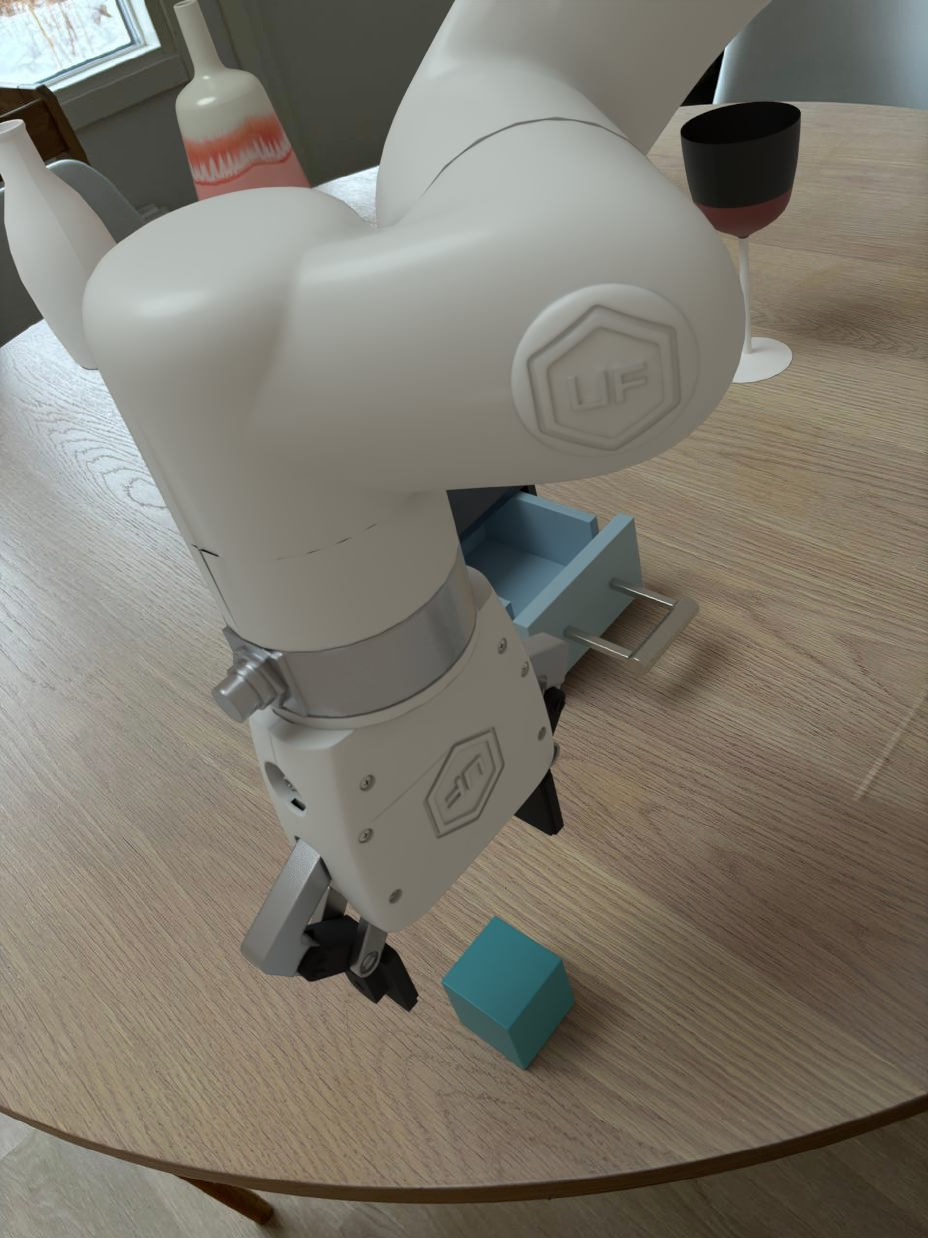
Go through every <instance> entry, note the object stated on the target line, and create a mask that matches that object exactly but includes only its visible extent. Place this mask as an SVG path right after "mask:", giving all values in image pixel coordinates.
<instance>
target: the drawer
mask: <svg viewBox="0 0 928 1238" xmlns="http://www.w3.org/2000/svg"><path fill="white" fill-rule="evenodd" d="M638 544H639V543H638V535H637V529H636V522H635V517H634V516H631V515H628V514H626V513H622V512H618V513H617V514H616V515H615V516H614V517H613V518H612V519H611V520H610V521H609V523H607V524H606V525H605V526H604V527H603V528H602V529H601V530H600V529H599V523H598V517H597V515H596V514H593V513H591V512H586V511H583V510H580V509H577V508H574V507H571V506H569V505H564V504H561V503H558V502H555V501H553V500H549V499H546V498H543V497H540V496H538V495H537V496H534V495H531V494H528V493H525V492H522V491H518V492H517V493H516V494H515V495H514V496H513V497H512V498H511V499H510V500H508V501H507V502H506V503H505V504H504V505H503V506H502V507H501V508H500V509H499V510H498V511H497V512H496V513H494V514H493V515H492V516H491V517H490V518H489V519H488V520H487V521H486V522H485V523H484V524H483V525H482V526H480V527H479V528H478V529H477V530H476V531H475V532H474V533H473V534H472V535H471V536H470V537H469V538H468V539H466V540H465V541H464V542H463V543H462V544H461V549H462V553H463V556H464V560H465V564H466V565H467V566H470V567H472V568H475V569H476V570H478V571H480V572H481V573H482V574H483V575H484V576H485V577H486V578H487V580H488V581H489V583H490V584H491V586H492V587H493V589H494V591H495V592H496V594H497V595H498V597H499V599H500V600H501V602H502V604H503V606H504V607H505V609H506V611H507V613H508V614H509V616H510V618H511V620H512V622H513V623H514V625H515V627H516V629H517V631H518V634H519V636H520V638H521V640H522V639H525V638H528V637H530V636H533V635H536V634H538V633H541V632H544V633H547V634H549V635H551V636H554V637H556V638H558V639H561V640H563V641H565V642H567V643H569V655H568V661H567V667H566V673H565V675H567V673H568V672H569V671H570V670H571V669H572V668H573V667H574V666H575V665H576V664H577V662H578V661H580V659H581V658H582V657H583V656H584V655H585V654H586V652H587V651H589V649H592V650H594V651H597V652H598V653H601V654H604V655H606V656H608V657H610V658H613V659H616V660H618V661H620V662H623V663H626V665H627V667H628V669H630V670H631V672H632V673H634V674H635V675H638V676H643V677H644V676H646V675H647V674H648V673H649V672H650V670H652V668H653V667H654V666H655V664H657V662H658V661H659V660H660V659H661V658H662V656H663V655H664V654H665V653H666V652H667V651H668V649H669V648H670V647H671V646H672V645H673V644H674V642H675V641H676V640H677V639H678V638H679V637H680V635H681V634H682V633H683V632H684V630H685V629H686V628H687V627H688V626H689V624H690V623H692V621H693V620H694V619H695V618H696V616H697V615H698V614H699V613H700V606H699V604H698V602H697V601H695V599H693V598H691V597H689V596H683V597H681V598H680V599H678V600H677V599H675V598H672V597H670V596H667V595H665V594H661V593H658V592H656V591H653V590H650V589H648V588H645V587H644V582H643V573H642V568H641V559H640V552H639V545H638ZM635 599H636V600H640V601H642V602H644V603H648V604H651V605H653V606H656V607H658V608H660V609H664V610H666V611H668V612H667V613H666V615H665V616H664V617H662V619H661V620H660V622H659V623H658V624H657V625H656V626H655V627H654V628H653V630H651V632H650V633H649V634H648V635H647V636H646V637H645V639H643V641H642V642H641V643H640V644H639V646H637V648H636V649H635V650H634V651H633V650H632V649H629V648H626V647H623V646H621V645H619V644H616V643H615V642H614V643H613V642H611V641H609V640H607V639H604V638H601V636H602V635H603V634H604V633H605V632H606V631H607V629H608V628H609V627H610V626H611V625H612V624H613V623H614V621H615V620H617V618H618V617H619V616H620V615H621V614H622V613H623V612H624V611H625V609H627V608H628V606H629V605H630V604H631V603H632V602H633V601H634V600H635Z"/></svg>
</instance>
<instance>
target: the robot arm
mask: <svg viewBox="0 0 928 1238" xmlns="http://www.w3.org/2000/svg"><path fill="white" fill-rule="evenodd" d="M772 1H773V0H454V1H453V2H452V5H451V7H450V8H449V10H448V13H447V14H446V16H445V18H444V20H443V21H442V23H441V25H440V27H439V29H438V31H437V32H436V35H435V36H434V38H433V40H432V42H431V43H430V46H429V47H428V48H427V49H428V50H427V51H426V53H425V55H424V57H423V59H422V61H421V62H420V65H419V66H418V68H417V70H416V72H415V74H414V76H413V78H412V80H411V82H410V83H409V86H408V87H407V89H406V92H405V93H404V95H403V97H402V99H401V101H400V103H399V105H398V108H397V110H396V112H395V115H394V117H393V120H392V123H391V125H390V128H389V130H388V133H387V136H386V138H385V142H384V145H383V149H382V153H381V158H380V162H379V166H378V171H377V175H376V182H375V183H376V184H375V197H374V204H375V207H374V208H375V219H376V226H374V225H372V224H370V223H368V222H367V221H366V220H365V219H364V218H363V217H362V215H360V214H359V213H358V212H357V211H356V210H355V209H354V208H353V207H351V206H350V205H349V204H348V203H347V202H346V201H344V200H342V199H340V198H338V197H336V196H334V195H333V194H332V195H331V194H329V193H327V192H324V191H321V190H318V189H314V188H312V189H310V188H304V187H265V188H256V189H248V190H242V191H236V192H231V193H227V194H223V195H219V196H215V197H212V198H208V199H205V200H202V201H198V200H197V201H196V202H193V203H190V204H188V205H187V204H186V205H185V206H182V207H180V208H177V209H175V210H173V211H169V212H167V213H166V214H164V215H161V216H160V217H158V218H155V219H153V220H151V221H149V222H148V223H146V224H145V225H143V226H141V227H140V228H138V229H137V230H135V231H133V233H131V234H130V235H128V236H126V237H125V238H124V239H122V240H121V241H119V242H118V243H116V244H117V245H116V246H115V247H113V248H112V249H111V250H110V251H109V252H108V253H107V254H106V255H105V256H104V257H103V258H102V259H101V260H100V262H99V263H98V265H97V266H96V268H95V270H94V271H93V273H92V275H91V276H90V278H89V280H88V281H87V284H86V288H85V292H84V296H83V302H82V322H83V327H84V333H85V338H86V342H87V345H88V347H89V349H90V352H91V354H92V356H93V359H94V361H95V363H96V365H97V368H98V369H97V370H98V372H99V374H100V376H101V377H100V378H102V381H103V383H104V384H105V387H106V389H107V390H108V393H109V394H110V396H111V399H112V401H113V403H114V404H115V406H116V408H117V411H118V412H119V414H120V416H121V418H122V420H123V423H124V425H125V427H126V429H127V430H128V432H129V435H130V436H131V438H132V440H133V442H134V444H135V446H136V448H137V450H138V452H139V454H140V456H141V458H142V460H143V462H144V464H145V466H146V468H147V470H148V472H149V474H150V476H151V478H152V480H153V482H154V484H155V486H156V488H157V490H158V492H159V494H160V496H161V498H162V500H163V502H164V504H165V506H166V508H167V510H168V512H169V513H170V516H171V517H172V520H173V521H174V523H175V525H176V528H177V530H178V531H179V533H180V536H181V537H182V540H183V541H184V543H185V546H186V547H187V549H188V551H189V553H190V555H191V556H192V558H193V560H194V563H195V565H196V566H197V569H198V571H199V572H200V574H201V576H202V578H203V580H204V582H205V584H206V586H207V587H208V590H209V592H210V593H211V595H212V597H213V599H214V601H215V603H216V605H217V608H218V609H219V611H220V613H221V616H222V618H223V620H224V623H225V625H226V626H225V627H223V628H222V629H221V632H222V633H223V636H224V638H225V640H226V641H227V644H228V645H229V647H230V649H231V651H232V665H231V666H230V667H229V668H228V669H227V670H226V671H227V672H226V675H227V676H226V677H225V678H223V679H222V680H221V681H220V682H219V683H217V684H216V685H215V686H214V687H213V688H212V689H210V693H211V696H212V698H213V700H214V701H215V703H216V704H217V705H218V707H219V708H220V709H221V710H222V711H223V712H224V713H225V714H226V715H227V716H228V717H229V718H230V719H231V720H233V721H234V722H235V723H238V724H243V723H244V722H246V721H247V720H248V724H249V730H250V733H251V737H252V742H253V747H254V751H255V754H256V758H257V761H258V765H259V769H260V772H261V775H262V778H263V781H264V784H265V786H266V789H267V792H268V795H269V797H270V801H271V803H272V805H273V806H272V807H273V808H274V811H275V813H276V815H277V818H278V821H279V823H280V824H281V828H282V829H283V831H284V834H285V836H286V838H287V840H288V843H289V844H290V847H291V848H292V850H291V852H290V854H289V855H288V857H287V859H286V861H285V863H284V865H283V866H282V868H281V870H280V872H279V874H278V875H277V877H276V879H275V881H274V883H273V884H272V886H271V889H270V890H269V892H268V894H267V896H266V897H265V899H264V901H263V903H262V905H261V907H260V908H259V910H258V912H257V914H256V916H255V917H254V919H253V922H252V923H251V925H250V927H249V929H248V931H247V932H246V935H244V938H243V940H242V942H241V944H240V950H239V951H240V953H241V955H242V956H243V957H244V958H245V959H247V961H249V962H250V963H251V964H253V965H254V966H255V967H256V968H257V969H258V970H259V971H260V972H262V973H263V974H265V975H270V976H278V977H286V978H294V977H302V978H303V979H304V980H306V981H307V982H309V983H315V982H317V981H321V980H324V979H327V978H330V977H333V976H337V975H341V974H345V976H346V978H347V980H348V981H349V982H350V983H351V984H352V986H353V987H354V988H355V989H356V990H357V991H358V992H359V993H360V994H361V995H363V996H364V997H365V998H366V999H367V1000H369V1001H370V1002H372V1003H373V1004H375V1005H378V1004H379V1002H381V1000H382V999H383V998H384V997H385V996H386V997H388V998H389V999H390V1000H392V1001H393V1002H394V1003H395V1004H397V1005H398V1006H400V1007H401V1008H402V1009H403V1010H405V1011H406V1012H407V1013H410V1012H411V1011H412V1010H413V1009H414V1008H415V1006H417V1004H418V1003H419V1000H418V997H419V996H420V994H419V991H418V990H417V988H416V985H415V984H414V982H413V980H412V978H411V976H410V974H409V971H408V970H407V968H406V965H405V964H404V962H403V960H402V958H401V955H400V954H399V952H398V951H397V950H396V949H395V948H394V947H393V946H391V945H390V944H388V943H387V942H386V941H387V937H388V934H393V933H397V932H400V931H402V930H405V929H406V928H408V927H410V926H412V925H413V924H415V923H416V922H418V921H419V920H420V919H421V918H423V917H424V916H425V915H426V914H427V913H428V912H429V911H430V910H431V909H432V908H433V907H434V906H435V905H436V904H437V903H438V902H439V901H440V900H441V899H442V897H443V896H444V895H446V893H447V892H448V891H449V890H450V889H451V888H452V886H453V885H454V884H455V883H456V882H457V881H458V880H459V878H460V877H462V875H463V874H464V873H465V872H466V870H467V869H468V868H470V866H471V865H472V864H473V863H474V862H475V860H476V859H477V858H478V857H479V856H480V855H481V854H482V853H483V852H484V851H485V849H486V848H487V847H488V846H489V845H490V843H491V842H492V841H493V840H494V839H495V837H496V836H497V835H498V834H499V833H500V831H501V830H503V828H504V827H505V826H506V825H507V823H508V822H509V821H510V820H511V819H512V818H513V817H516V818H518V819H519V820H521V821H522V822H524V823H526V824H528V825H530V826H531V827H533V828H535V829H537V830H538V831H540V832H542V833H543V834H545V835H547V836H549V837H552V836H553V835H554V836H557V835H558V834H559V833H560V832H561V830H562V829H563V828H564V827H565V822H564V818H563V814H562V810H561V805H560V801H559V796H558V792H557V789H556V784H555V779H554V775H553V774H552V771H551V770H552V769H551V768H552V767H553V766H554V765H555V764H556V762H557V760H558V759H559V756H560V751H561V747H560V746H561V745H560V744H559V743H558V742H556V741H554V735H555V732H556V730H557V726H558V723H559V721H560V717H561V715H562V713H563V710H564V708H565V706H566V697H567V696H566V692H565V690H562V689H561V685H562V683H565V679H566V674H567V673H566V667H567V661H568V655H569V643H567V642H565V641H563V640H561V639H558V638H556V637H554V636H551V635H549V634H547V633H544V632H541V633H538V634H536V635H533V636H530V637H528V638H525V639H522V640H521V638H520V636H519V634H518V631H517V629H516V627H515V625H514V623H513V622H512V620H511V618H510V616H509V614H508V613H507V611H506V609H505V607H504V606H503V604H502V602H501V600H500V599H499V597H498V595H497V594H496V592H495V591H494V589H493V587H492V586H491V584H490V583H489V581H488V580H487V578H486V577H485V576H484V575H483V574H482V573H481V572H480V571H478V570H476V569H475V568H472V567H470V566H467V565H466V564H465V560H464V556H463V553H462V549H461V545H460V541H459V538H458V534H457V531H456V526H455V522H454V519H453V515H452V511H451V507H450V504H449V500H448V496H447V492H446V490H453V489H467V488H482V487H501V486H520V485H535V486H536V485H547V484H555V483H564V482H572V481H580V480H586V479H591V478H596V477H602V476H606V475H610V474H614V473H618V472H621V471H623V470H626V469H629V468H632V467H634V466H637V465H640V464H642V463H645V462H648V461H650V460H652V459H654V458H656V457H658V456H660V455H662V454H664V453H665V452H667V451H669V450H670V449H671V450H672V448H674V447H675V446H677V445H679V444H680V443H682V442H683V441H684V440H685V439H687V438H688V437H689V436H690V435H692V433H694V432H695V431H696V430H697V429H698V428H699V427H700V426H701V425H702V424H703V423H704V422H706V420H707V419H708V418H709V417H710V416H711V415H712V414H713V412H714V411H715V410H716V409H717V408H718V406H719V405H720V403H721V402H722V400H723V399H724V397H725V395H726V393H727V391H728V390H729V388H730V386H731V385H732V383H733V382H732V381H733V378H734V376H735V373H736V371H737V368H738V366H739V363H740V359H741V354H742V350H743V345H744V340H745V326H746V312H745V302H744V294H743V290H742V286H741V282H740V274H739V273H738V270H737V267H736V265H735V262H734V260H733V257H732V255H731V253H730V250H729V248H728V247H727V246H726V243H725V242H724V240H723V239H722V237H721V236H720V234H719V231H717V230H715V228H714V227H713V226H712V224H711V223H710V222H709V220H708V219H707V218H706V216H705V215H704V214H703V212H702V211H701V210H700V209H699V208H698V207H697V206H696V205H695V204H694V203H693V200H692V199H691V198H690V197H689V196H688V195H687V194H686V193H685V192H684V191H683V190H682V189H681V188H680V187H679V186H678V185H676V184H675V183H674V182H673V181H672V180H671V179H670V177H668V176H667V175H666V174H665V173H664V172H663V171H662V170H661V169H660V168H658V166H657V165H656V164H655V163H654V162H653V161H652V160H651V159H650V158H649V157H648V156H647V155H648V154H649V152H650V151H651V150H652V148H653V146H654V145H655V144H656V142H657V141H658V139H659V138H660V136H661V135H662V133H663V132H664V130H665V129H666V128H667V126H668V125H669V123H670V121H671V120H672V118H673V117H674V116H675V114H676V112H677V111H678V110H679V108H680V107H681V105H683V103H684V101H685V100H686V99H687V97H688V96H689V94H690V93H691V92H692V90H693V89H694V87H695V86H696V85H697V84H698V82H699V81H700V80H701V78H702V77H703V76H704V74H705V73H706V72H707V70H708V69H709V68H710V66H711V65H712V64H713V63H714V62H715V61H716V60H717V59H718V57H719V56H720V55H721V54H722V53H723V52H724V50H726V48H727V47H728V46H729V44H730V43H731V42H732V41H733V40H734V39H735V38H736V37H737V36H738V35H739V33H741V32H742V30H744V28H746V27H747V25H748V24H749V23H751V22H752V21H753V19H754V18H755V17H757V16H758V14H759V13H760V12H761V11H762V10H763V9H765V8H766V7H767V6H768V5H769V4H770V3H772ZM565 673H566V674H565ZM348 904H349V905H350V906H351V908H352V909H353V910H355V912H356V913H357V914H358V915H359V920H358V921H357V920H356V919H354V918H353V917H352V916H350V915H349V914H347V913H346V910H347V905H348Z"/></svg>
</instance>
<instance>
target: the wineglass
mask: <svg viewBox="0 0 928 1238" xmlns="http://www.w3.org/2000/svg"><path fill="white" fill-rule="evenodd" d="M801 123H802V111H801V109H800V108H799V107H797V106H795V105H794V104H792V103H787V102H782V101H773V100H769V101H768V100H761V101H747V102H746V101H745V102H740V103H734V104H729V105H724V106H720V107H717V108H712V109H711V110H707V111H705V112H702V113H700V114H698V115H696V116H694V117H692V118H690V119H689V120H688V121H686V122H685V123H683V125H682V126H681V128H680V130H679V132H680V135H679V136H680V143H681V144H680V145H681V152H682V158H683V165H684V173H685V177H686V181H687V185H688V189H689V192H690V193H689V194H690V196H691V201H692V202H693V203H694V204H695V205H696V206H697V207H698V208H699V209H700V210H701V211H702V212H703V214H704V215H705V216H706V218H707V219H708V220H709V222H710V223H711V224H712V226H713V227H714V228H715V230H716V231H717V232H720V233H723V234H726V235H730V236H734V237H737V238H738V262H739V278H740V282H741V286H742V290H743V294H744V302H745V312H746V326H745V340H744V345H743V350H742V354H741V359H740V363H739V366H738V368H737V371H736V373H735V376H734V378H733V381H732V383H737V384H745V383H756V382H760V381H764V380H767V379H771V378H772V377H775V376H777V375H779V374H781V373H782V372H783V371H784V370H786V369H787V368H788V367H789V366H790V364H791V362H792V360H793V351H792V349H790V347H789V346H788V345H787V344H786V343H783V342H781V341H780V340H778V339H774V338H770V337H764V336H763V337H762V336H752V318H751V285H750V284H751V283H750V258H749V257H750V251H749V250H750V248H749V247H750V246H749V237H750V236H751V235H753V234H754V233H756V232H758V231H760V230H763V229H765V228H766V227H768V226H769V225H770V224H772V223H774V222H775V221H776V220H777V219H778V218H779V217H780V216H781V215H782V214H783V213H784V212H785V210H786V208H787V207H788V205H789V203H790V201H791V197H792V193H793V189H794V182H795V178H796V174H797V173H796V172H797V168H798V162H799V153H800V152H799V151H800V142H801V126H802V124H801Z"/></svg>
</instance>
